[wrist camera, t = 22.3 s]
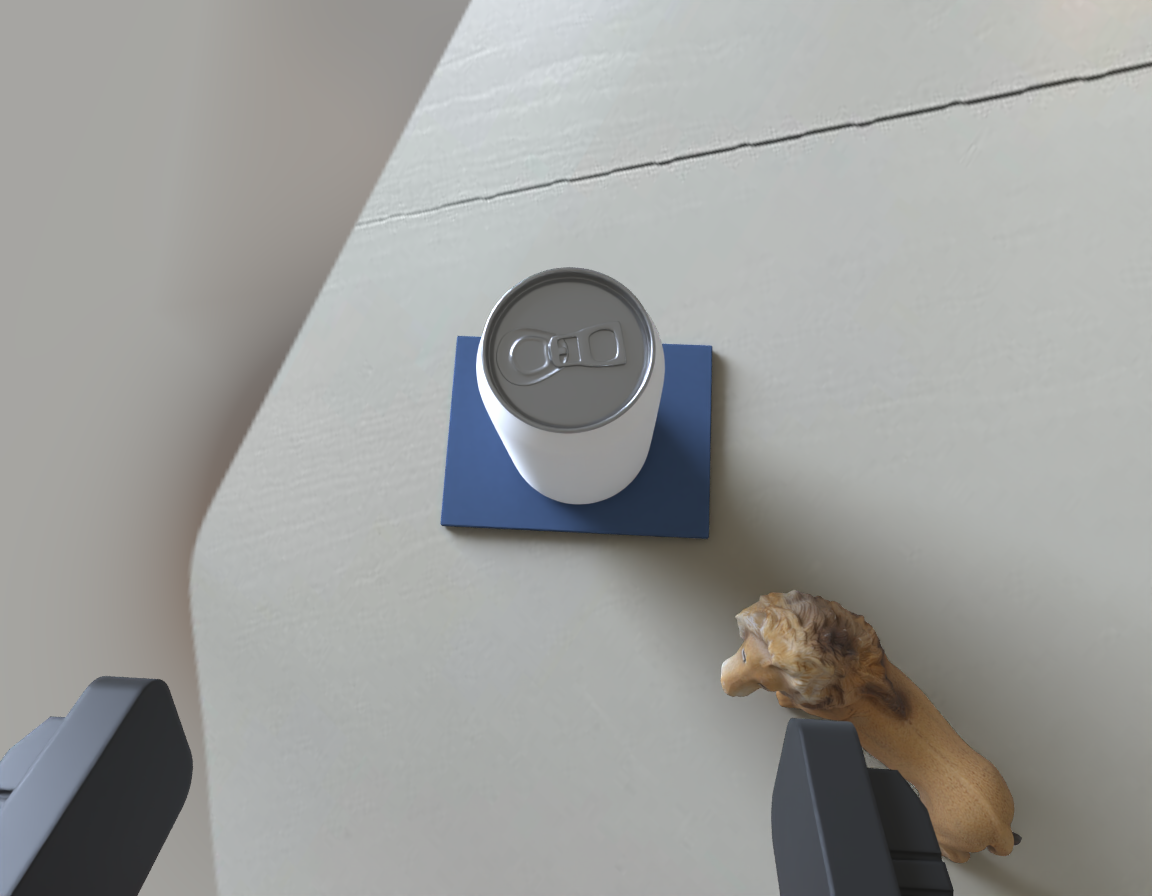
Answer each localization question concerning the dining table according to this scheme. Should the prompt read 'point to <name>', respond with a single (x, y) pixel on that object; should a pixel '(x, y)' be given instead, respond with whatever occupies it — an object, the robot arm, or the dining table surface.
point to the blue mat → (645, 507)
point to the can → (572, 382)
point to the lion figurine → (872, 712)
